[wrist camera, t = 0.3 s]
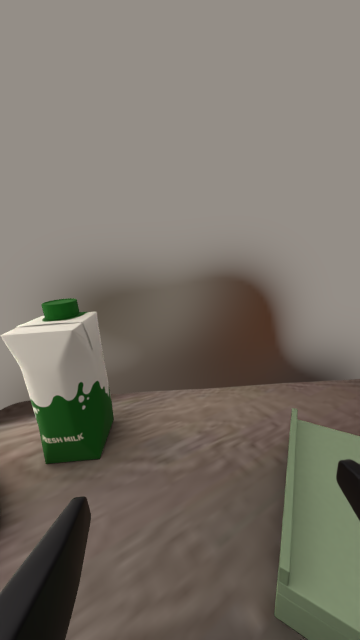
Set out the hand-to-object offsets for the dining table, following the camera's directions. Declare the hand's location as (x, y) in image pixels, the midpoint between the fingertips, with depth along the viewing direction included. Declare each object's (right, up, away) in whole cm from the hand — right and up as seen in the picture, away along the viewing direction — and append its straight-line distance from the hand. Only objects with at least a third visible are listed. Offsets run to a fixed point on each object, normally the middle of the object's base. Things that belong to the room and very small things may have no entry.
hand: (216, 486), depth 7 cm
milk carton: (-15, -12, +23) cm, 30 cm away
